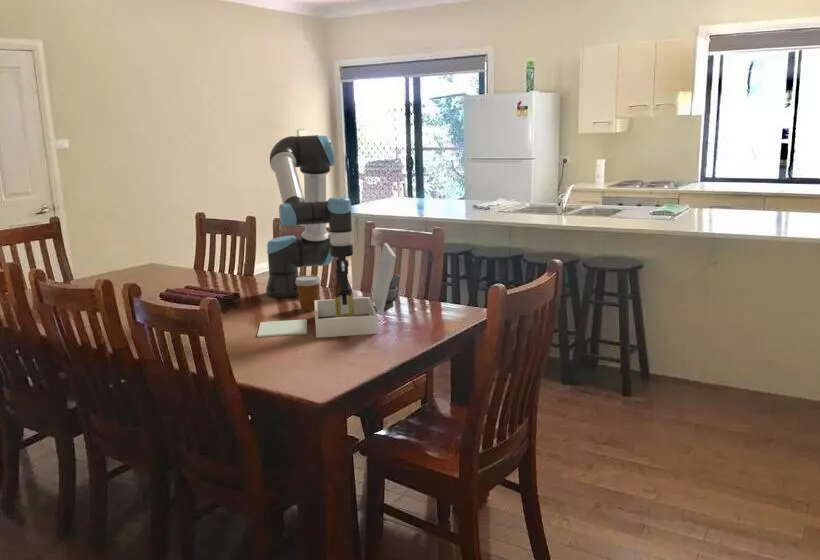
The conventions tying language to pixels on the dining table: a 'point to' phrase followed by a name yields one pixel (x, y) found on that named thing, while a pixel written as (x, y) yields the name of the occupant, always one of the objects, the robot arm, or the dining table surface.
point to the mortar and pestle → (392, 292)
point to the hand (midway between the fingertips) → (344, 310)
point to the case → (345, 319)
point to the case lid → (383, 278)
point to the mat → (282, 328)
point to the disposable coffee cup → (308, 291)
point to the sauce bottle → (337, 298)
